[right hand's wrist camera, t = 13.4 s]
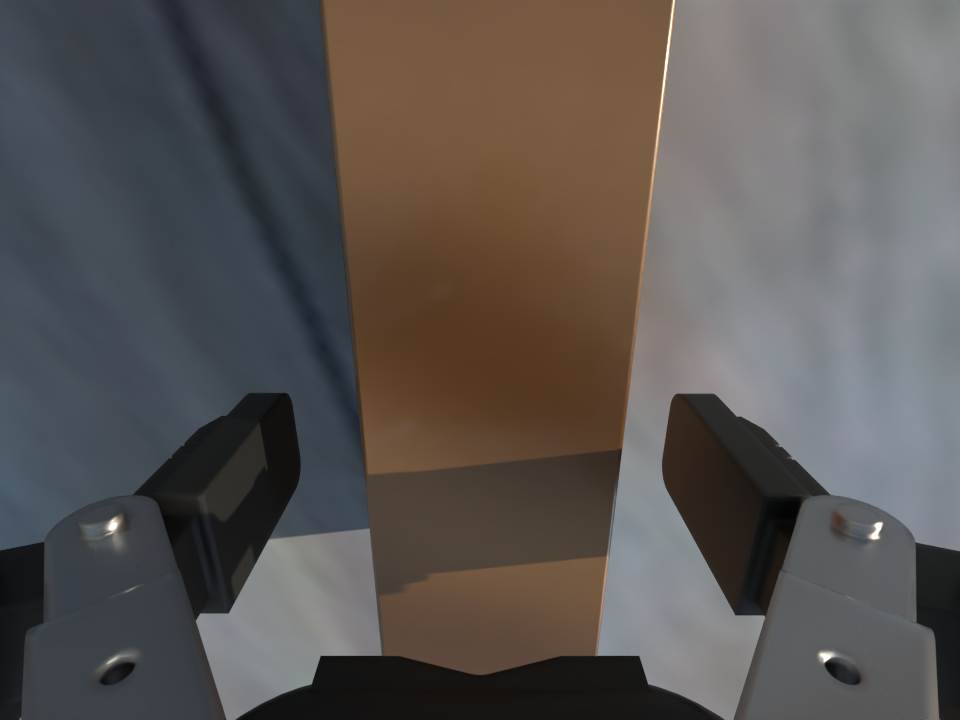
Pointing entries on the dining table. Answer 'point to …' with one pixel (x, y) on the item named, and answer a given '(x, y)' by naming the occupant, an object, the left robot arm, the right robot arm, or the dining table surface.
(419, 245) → the post
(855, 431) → the dining table surface
